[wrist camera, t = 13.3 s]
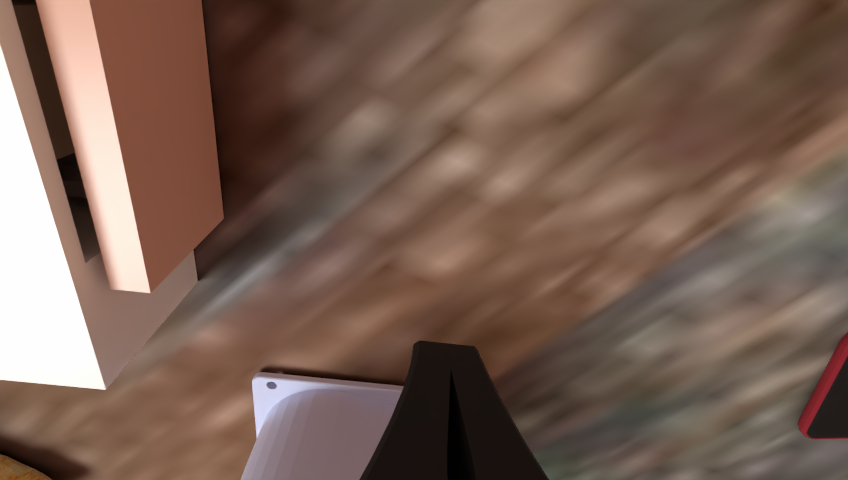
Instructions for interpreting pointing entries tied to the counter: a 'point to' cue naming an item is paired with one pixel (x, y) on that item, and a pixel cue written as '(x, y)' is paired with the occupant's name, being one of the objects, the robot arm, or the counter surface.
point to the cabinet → (59, 255)
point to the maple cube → (43, 75)
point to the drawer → (137, 129)
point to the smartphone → (829, 400)
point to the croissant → (18, 470)
